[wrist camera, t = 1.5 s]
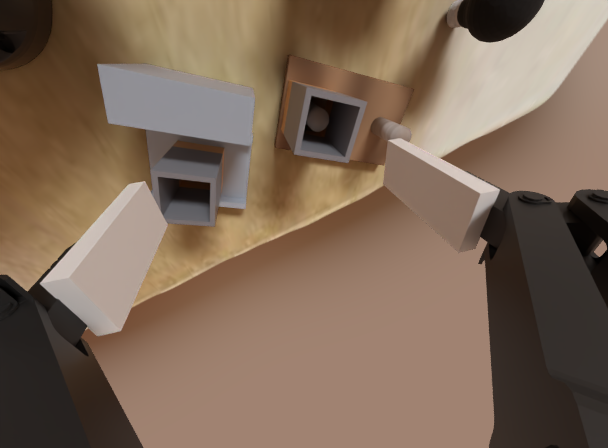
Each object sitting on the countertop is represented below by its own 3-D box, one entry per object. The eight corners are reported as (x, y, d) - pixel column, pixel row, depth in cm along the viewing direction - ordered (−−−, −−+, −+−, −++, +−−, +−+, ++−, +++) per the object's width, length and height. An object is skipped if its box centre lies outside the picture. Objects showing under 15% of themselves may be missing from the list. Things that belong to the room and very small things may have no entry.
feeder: (154, 192, 33) (123, 235, 25) (140, 62, 25) (88, 62, 17) (245, 201, 36) (245, 242, 28) (257, 88, 28) (261, 99, 20)
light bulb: (421, 3, 27) (497, -22, 19) (471, -35, 26) (573, -79, 18) (434, 57, 30) (503, 55, 22) (478, 25, 29) (568, 10, 21)
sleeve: (179, 181, 32) (156, 222, 24) (177, 140, 29) (150, 170, 21) (222, 186, 33) (214, 226, 25) (224, 147, 31) (216, 178, 23)
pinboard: (274, 144, 32) (281, 163, 26) (288, 55, 27) (300, 53, 21) (379, 162, 37) (405, 181, 31) (407, 88, 32) (446, 94, 26)
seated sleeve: (281, 129, 30) (293, 154, 22) (288, 79, 27) (306, 87, 19) (321, 137, 31) (348, 163, 23) (333, 90, 29) (367, 101, 21)
